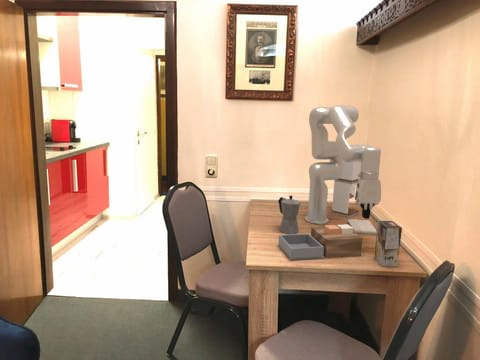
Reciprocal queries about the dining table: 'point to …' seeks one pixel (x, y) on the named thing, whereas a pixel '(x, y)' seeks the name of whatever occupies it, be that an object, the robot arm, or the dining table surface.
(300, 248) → the box
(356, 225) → the washcloth
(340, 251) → the block
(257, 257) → the dining table surface
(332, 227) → the tile
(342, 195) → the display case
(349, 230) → the tile
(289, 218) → the coffeepot
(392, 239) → the coffee box
